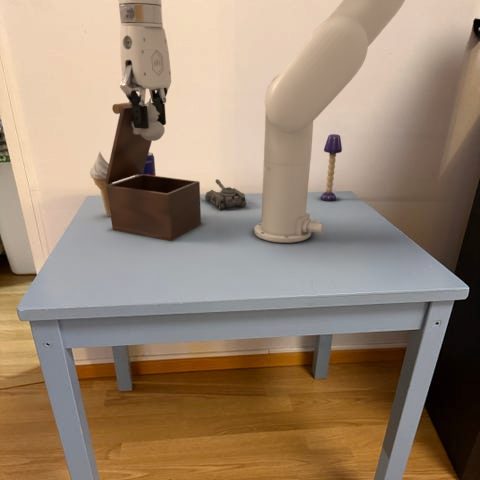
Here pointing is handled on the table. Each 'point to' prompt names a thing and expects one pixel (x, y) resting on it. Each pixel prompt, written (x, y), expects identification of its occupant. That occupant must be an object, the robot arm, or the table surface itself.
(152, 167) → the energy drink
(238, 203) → the tank toy
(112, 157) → the chest lid
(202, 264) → the table surface
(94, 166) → the ice cream cone
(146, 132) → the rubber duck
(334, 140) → the toy lamp
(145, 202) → the chest
